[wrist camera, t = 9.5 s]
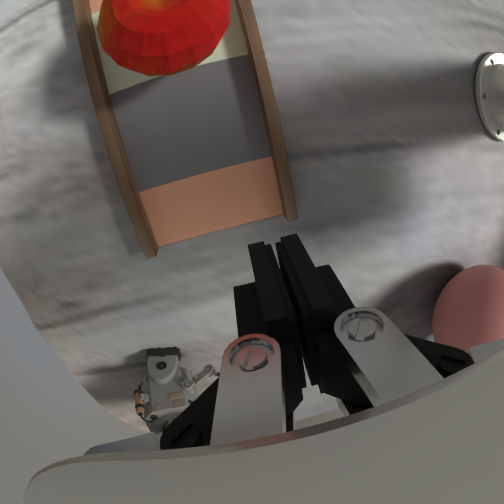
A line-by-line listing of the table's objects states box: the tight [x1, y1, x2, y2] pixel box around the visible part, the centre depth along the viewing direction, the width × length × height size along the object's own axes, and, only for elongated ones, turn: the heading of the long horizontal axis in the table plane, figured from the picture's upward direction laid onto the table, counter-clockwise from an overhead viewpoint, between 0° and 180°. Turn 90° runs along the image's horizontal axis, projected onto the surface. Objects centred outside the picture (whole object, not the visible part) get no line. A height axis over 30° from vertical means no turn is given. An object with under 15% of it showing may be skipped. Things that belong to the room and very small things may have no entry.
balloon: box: [432, 265, 504, 352], centre depth 35 cm, size 15×20×15 cm
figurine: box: [134, 347, 220, 435], centre depth 33 cm, size 9×12×15 cm
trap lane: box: [72, 0, 298, 258], centre depth 23 cm, size 15×31×2 cm, turn 12°
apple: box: [97, 0, 231, 76], centre depth 17 cm, size 9×9×12 cm
